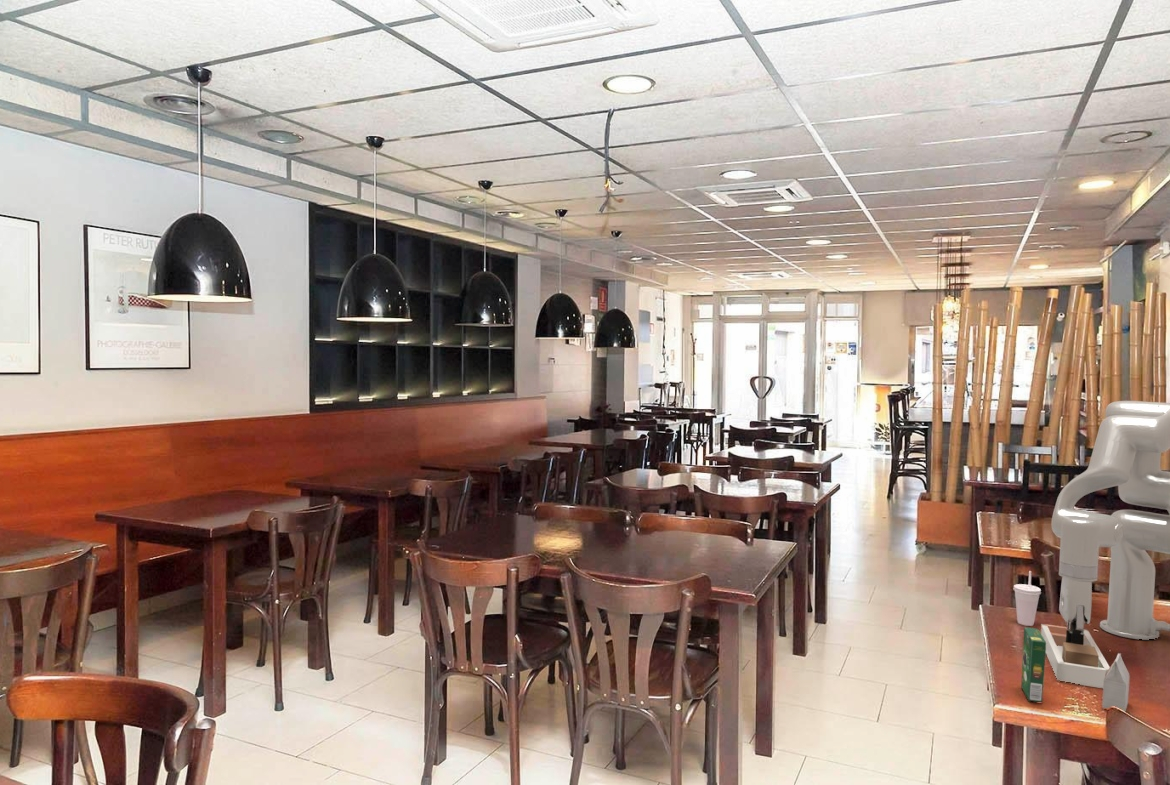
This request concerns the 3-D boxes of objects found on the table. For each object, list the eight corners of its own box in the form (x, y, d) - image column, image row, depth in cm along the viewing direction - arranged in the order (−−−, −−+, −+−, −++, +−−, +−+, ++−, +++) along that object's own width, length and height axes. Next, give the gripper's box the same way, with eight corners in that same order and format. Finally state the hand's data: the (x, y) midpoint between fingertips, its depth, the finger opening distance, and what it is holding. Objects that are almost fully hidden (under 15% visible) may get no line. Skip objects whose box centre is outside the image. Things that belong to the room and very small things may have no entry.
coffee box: (1043, 704, 159) (1047, 641, 158) (1027, 702, 160) (1030, 639, 159) (1035, 689, 166) (1038, 628, 166) (1020, 686, 167) (1023, 626, 167)
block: (1093, 664, 174) (1094, 646, 174) (1097, 674, 169) (1098, 655, 169) (1062, 659, 177) (1062, 641, 177) (1065, 668, 171) (1065, 650, 171)
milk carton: (1127, 703, 160) (1130, 655, 160) (1124, 714, 155) (1127, 664, 155) (1106, 698, 163) (1109, 650, 162) (1102, 709, 158) (1104, 660, 157)
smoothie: (1044, 628, 205) (1047, 575, 204) (1019, 627, 205) (1022, 574, 204) (1031, 619, 211) (1033, 568, 211) (1007, 619, 212) (1009, 567, 211)
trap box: (1086, 646, 193) (1087, 629, 192) (1111, 689, 167) (1112, 671, 167) (1040, 639, 196) (1041, 623, 196) (1057, 681, 171) (1058, 663, 171)
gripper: (1054, 561, 189) (1050, 636, 190) (1064, 577, 175) (1060, 657, 176) (1090, 564, 186) (1086, 640, 187) (1104, 581, 172) (1100, 663, 173)
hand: (1074, 648), depth 181 cm, fingers closed
